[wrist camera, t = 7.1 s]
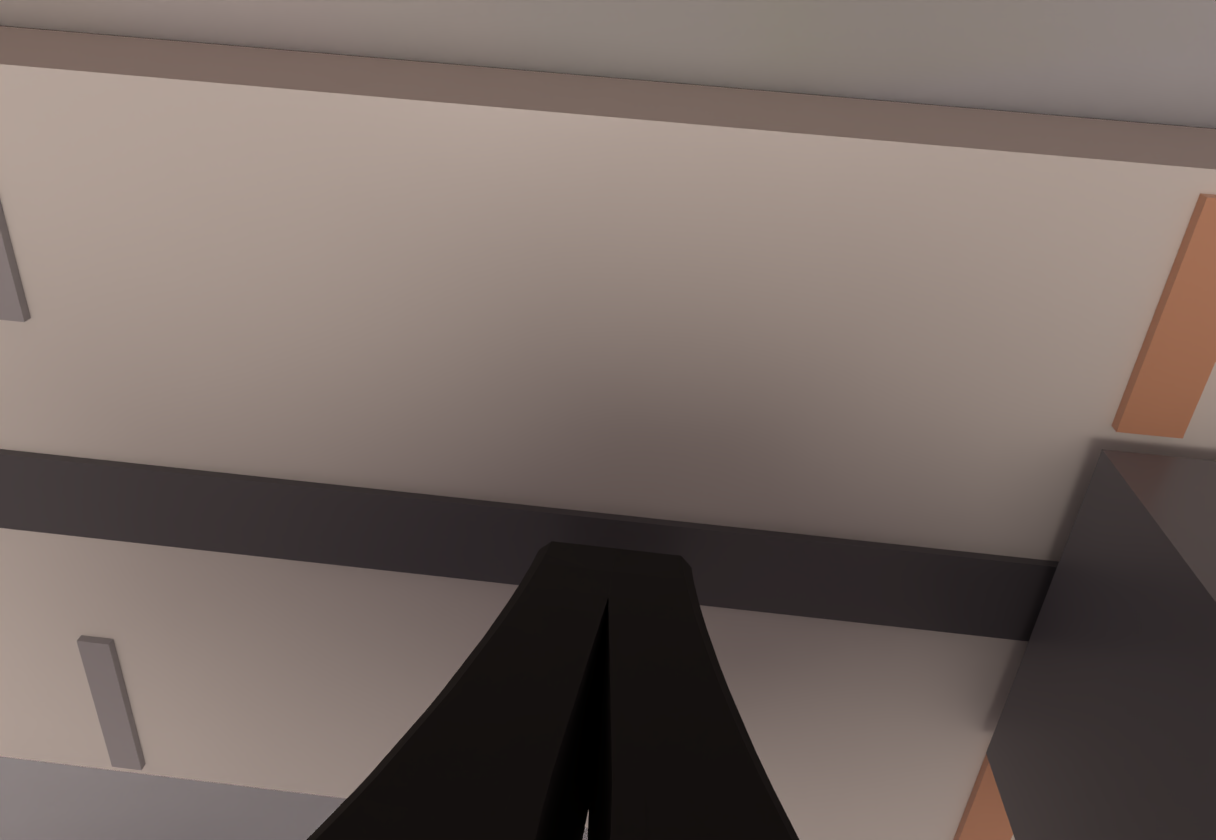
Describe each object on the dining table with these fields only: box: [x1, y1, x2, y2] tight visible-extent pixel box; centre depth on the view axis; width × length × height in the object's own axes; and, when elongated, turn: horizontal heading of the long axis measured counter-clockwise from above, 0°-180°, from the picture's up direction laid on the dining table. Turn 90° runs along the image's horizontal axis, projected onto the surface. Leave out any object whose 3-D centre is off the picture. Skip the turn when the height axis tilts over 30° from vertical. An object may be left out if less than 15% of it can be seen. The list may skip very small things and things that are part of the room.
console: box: [0, 26, 1216, 840], centre depth 11 cm, size 9×18×2 cm, turn 86°
